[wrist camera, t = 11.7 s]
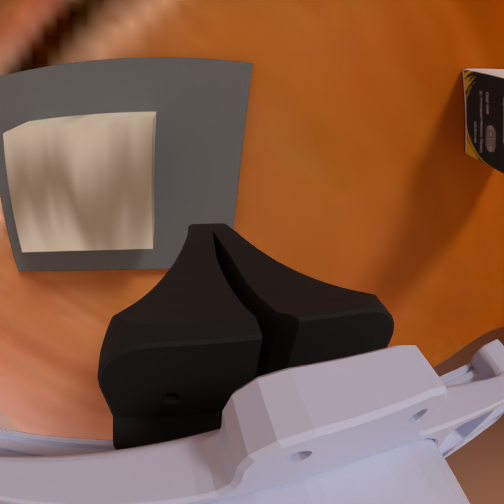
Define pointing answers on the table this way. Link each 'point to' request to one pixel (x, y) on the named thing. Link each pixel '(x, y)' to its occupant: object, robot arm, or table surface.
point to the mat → (166, 143)
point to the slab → (83, 181)
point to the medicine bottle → (484, 115)
